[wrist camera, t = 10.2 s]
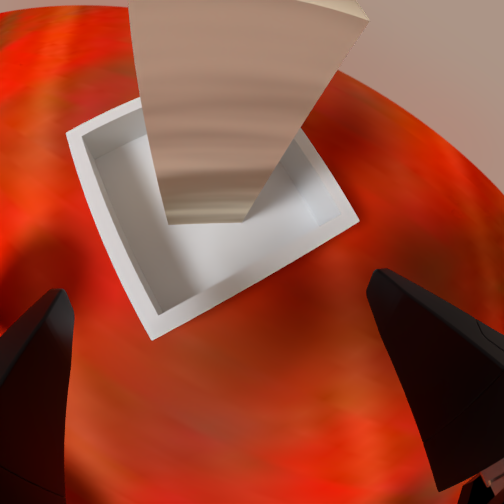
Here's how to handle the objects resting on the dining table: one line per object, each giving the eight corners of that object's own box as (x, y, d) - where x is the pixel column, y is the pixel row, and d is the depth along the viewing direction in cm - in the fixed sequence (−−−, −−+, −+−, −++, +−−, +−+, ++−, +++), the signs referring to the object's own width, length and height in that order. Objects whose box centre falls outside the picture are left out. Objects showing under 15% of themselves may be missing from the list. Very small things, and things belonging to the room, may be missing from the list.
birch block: (241, 222, 16) (369, 21, 4) (168, 225, 15) (127, -6, 3) (237, 158, 17) (317, -48, 4) (169, 159, 16) (163, -64, 3)
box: (160, 333, 15) (151, 340, 11) (83, 161, 16) (65, 132, 12) (330, 236, 18) (360, 221, 14) (240, 96, 19) (250, 62, 15)
